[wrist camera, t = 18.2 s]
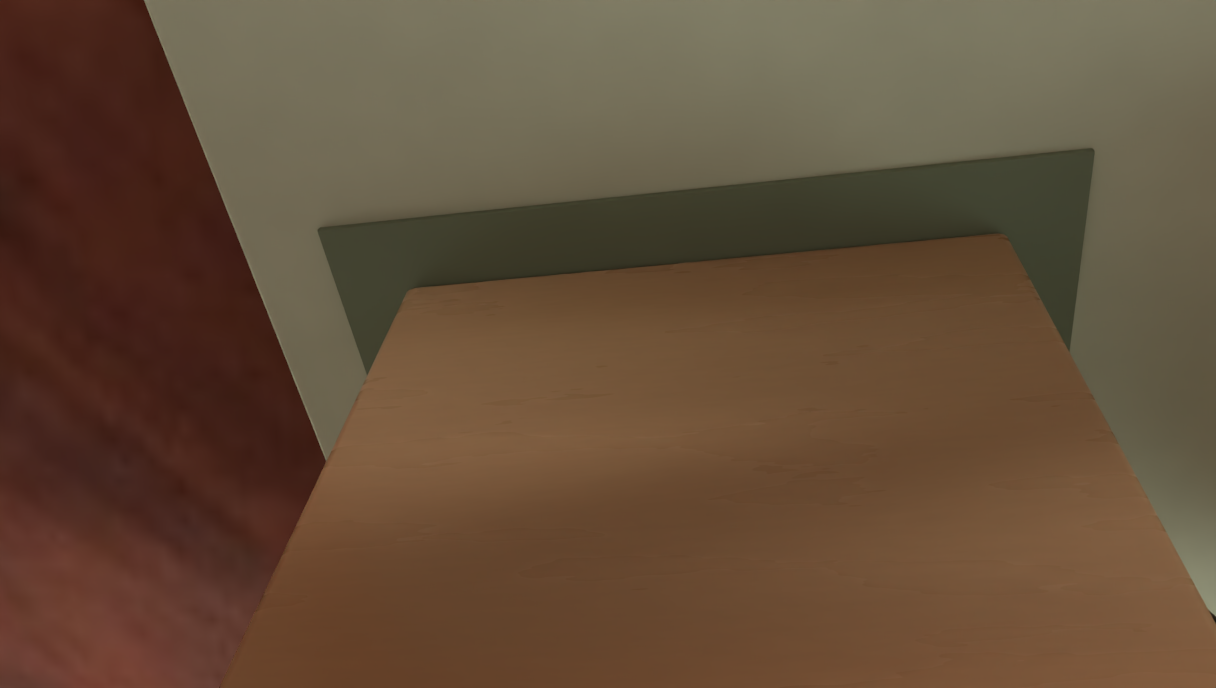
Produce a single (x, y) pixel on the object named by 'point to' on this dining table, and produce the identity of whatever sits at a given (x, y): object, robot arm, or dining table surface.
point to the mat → (729, 167)
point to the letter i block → (731, 492)
